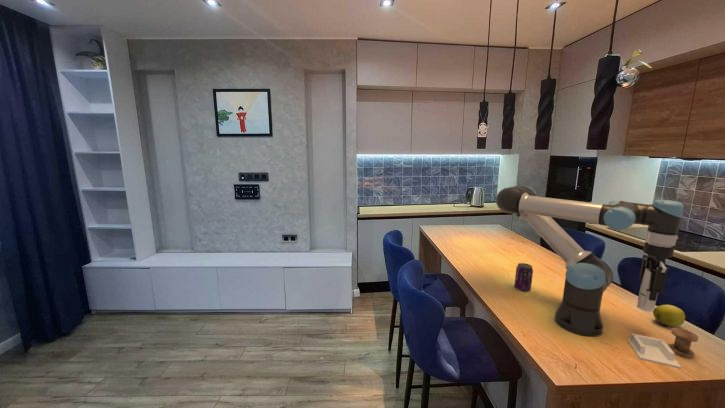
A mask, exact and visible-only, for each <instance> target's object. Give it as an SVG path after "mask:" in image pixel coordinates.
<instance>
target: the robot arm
mask: <svg viewBox="0 0 725 408" xmlns="http://www.w3.org/2000/svg"><path fill="white" fill-rule="evenodd" d="M495 203H496V206H497V208H498V209H499V210H500V211H502V212H504V213H506V214H514V215H515V216H516V217H517V218H518V219H522V220H524V221H526V222H527V223H528V224H529V225H530V227H532V229H533V230H534V231H535V232H536V233H537V234H538V236H540V237H541V238H542V239H543V240H544V241H545V243H546V244H548V246H550V248H551V249H552V250H553V251H554V252H555V253H556V254H557V255H558V256H559V258H561V259H562V260H563V262H564V263H565V265H564V266H565V267H564V268H565V269H566V271H565V277H564V279H565V280H564V285H563V286H564V287H563V292H562V299H561V300H562V301H561V303H559V306H558V307H557V309H556V310H555V312H554V320H555V323H556V324H558V325H559V326H560V327H561V328H562V329H565V330H567V331H568V332H570V333H573V334H577V335H579V336H580V335H581V336H585V337H598V336H602V334H603V331H604V324H603V321H602V316H601V306H602V300H603V296H604V293H605V291H606V290H607V289H608V287H610V285H612V283H613V281H614V277H615V276H614V270H613V268H612V266H611V264H610V263H608V262H607V261H605V259H601V258H598V257H597V256H596V255H595V254H594V253H593V252H592V251H589V250H584V249H583V247H581V246H580V245H579V244H578V243H577V242H576V241H575V240H574V238H573V237H571V236H570V235H569V234H568V233H567V232H566V231H565V229H563V228H562V227H561V226H560V225H559V224H558V223H557V221H555V219H553V218H556V219H561V220H562V219H563V220H567V221H573V222H574V221H575V222H582V223H587V224H593V225H599V226H606V227H608V228H610V229H612V230H614V231H615V230H616V231H622V230H626V229H627V230H628V228H630V227H632V226H633V225H634V224H636V225H642V226H647V229H646V234H645V238H644V241H645V242H644V245H643V249H642V251H643V253H645V254H643V255H642V262H641V267H640V272H639V276H638V277H639V278H638V280H639V281H640V288H639V292H638V297H637V300H638V299H639V295H640V291H641V286H642V282H643V277H644V273H645V269H646V268H648V269H649V271H650V272H651V276H650V285H649V289H646V290H647V293H646V297H645V302H644V307H646V308H652V309H653V310H654V309H655V308H656V307H655V306H656V304H657V300H658V299H657V298H658V295H659V294H663V292H664V288H665V284H666V281H667V276H668V273H669V271H670V267H668V266H667V267H666V259H669V258H673V256H674V252H675V247H674V246H676V243H677V240H679V236H678V235H679V231H680V227H681V223H682V219H683V215H684V209H685V206H684V204H683V203H682V202H680V201H677V200H676V201H675V200H668V199H665V200H664V199H655V200H654V201H653V203H652V204H645V203H639V202H629V201H623V200H611V201H609V203H608V204H604V203H597V202H589V201H588V202H587V201H579V200H571V199H564V198H563V199H562V198H552V197H545V196H538V195H537V193H536V192H535V190H534V189H533V188H532V187H529V186H528V185H523V184H522V185H521V184H519V185H515V186H509V187H504V188H503V189H501V190H500V191H499V192H497V195H496V197H495ZM656 270H657V271H656Z"/></svg>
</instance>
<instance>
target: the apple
mask: <svg viewBox="0 0 725 408" xmlns="http://www.w3.org/2000/svg"><path fill="white" fill-rule="evenodd" d="M652 314H653V317H654V318H655V321H657V322H659V323H661V324H662V325H665V326H668V327H679V326H682V325H683V324H684V323H685V320H686V315H685V312H684V311H683V310H682V309H681V308H679V307H677V306H675V305H672V304H661V305H658V306H656V307H655V308H654V309H653V311H652Z"/></svg>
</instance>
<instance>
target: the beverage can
mask: <svg viewBox="0 0 725 408" xmlns="http://www.w3.org/2000/svg"><path fill="white" fill-rule="evenodd" d="M515 269H516V270H515V276H514V277H515V278H514V287H515V288H516V289H517V290H519V291H522V292H528V291H531V289H532V282H533V273H534V269H533V265H531V264H528V263H523V262H521V263H517V266H516V268H515Z"/></svg>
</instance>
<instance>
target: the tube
mask: <svg viewBox="0 0 725 408" xmlns="http://www.w3.org/2000/svg"><path fill="white" fill-rule="evenodd" d="M656 271H657V270H656ZM650 276H651V272H650V271H649V269H648V268H646V269H645V273H644V277H643V282H642V283H641V284H642V286H641V285H640V287H641V291H640V290H639V292H640V295H639V294H638V296H639V299H638V298H637V304H636V307H637V308H638V309H639V310H642V311H644V312H652V313H653V311H654V309H652V308H646V307H644V302H645V297H646V293H647V290H646V289H649V285H650Z"/></svg>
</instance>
